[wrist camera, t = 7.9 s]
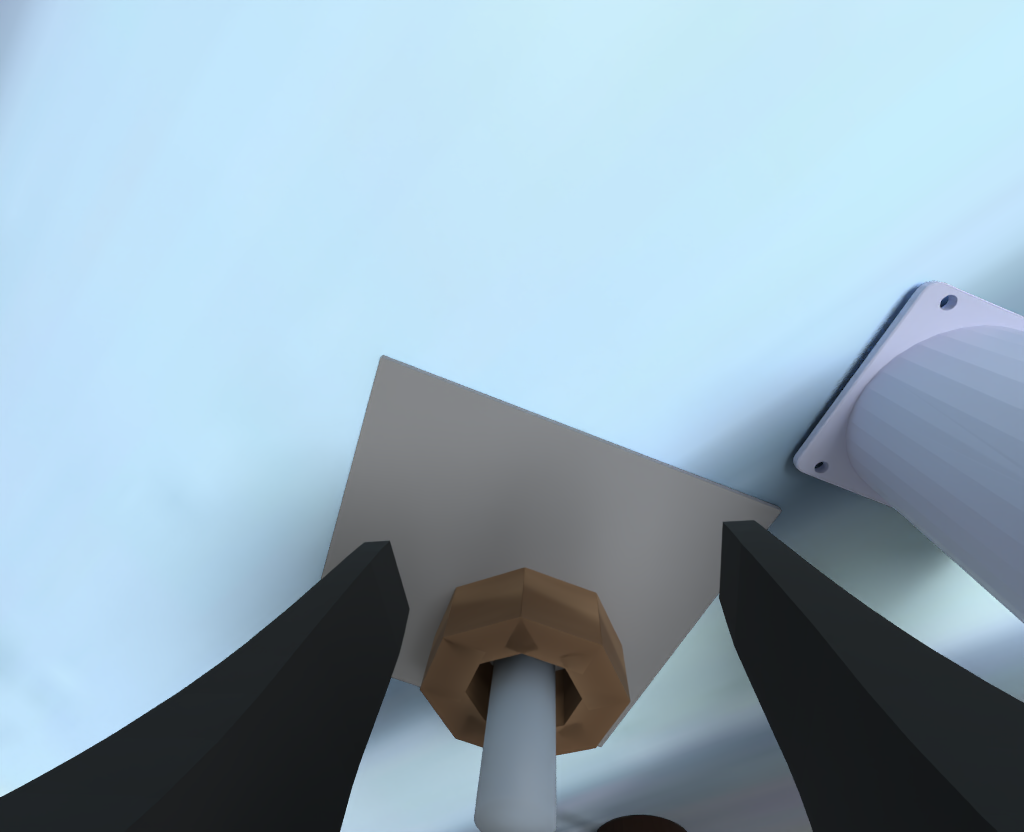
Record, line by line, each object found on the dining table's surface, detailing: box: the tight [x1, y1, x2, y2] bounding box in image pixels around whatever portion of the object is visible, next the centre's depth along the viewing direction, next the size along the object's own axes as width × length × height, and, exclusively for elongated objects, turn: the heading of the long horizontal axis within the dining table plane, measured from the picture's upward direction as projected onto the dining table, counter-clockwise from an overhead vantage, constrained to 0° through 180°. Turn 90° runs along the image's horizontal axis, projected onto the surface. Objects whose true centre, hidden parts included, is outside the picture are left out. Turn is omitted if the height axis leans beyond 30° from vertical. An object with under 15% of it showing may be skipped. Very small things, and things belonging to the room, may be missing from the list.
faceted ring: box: [420, 567, 631, 755], centre depth 23 cm, size 9×9×3 cm
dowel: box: [474, 654, 556, 832], centre depth 21 cm, size 3×3×8 cm
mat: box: [321, 355, 782, 747], centre depth 23 cm, size 18×18×1 cm
